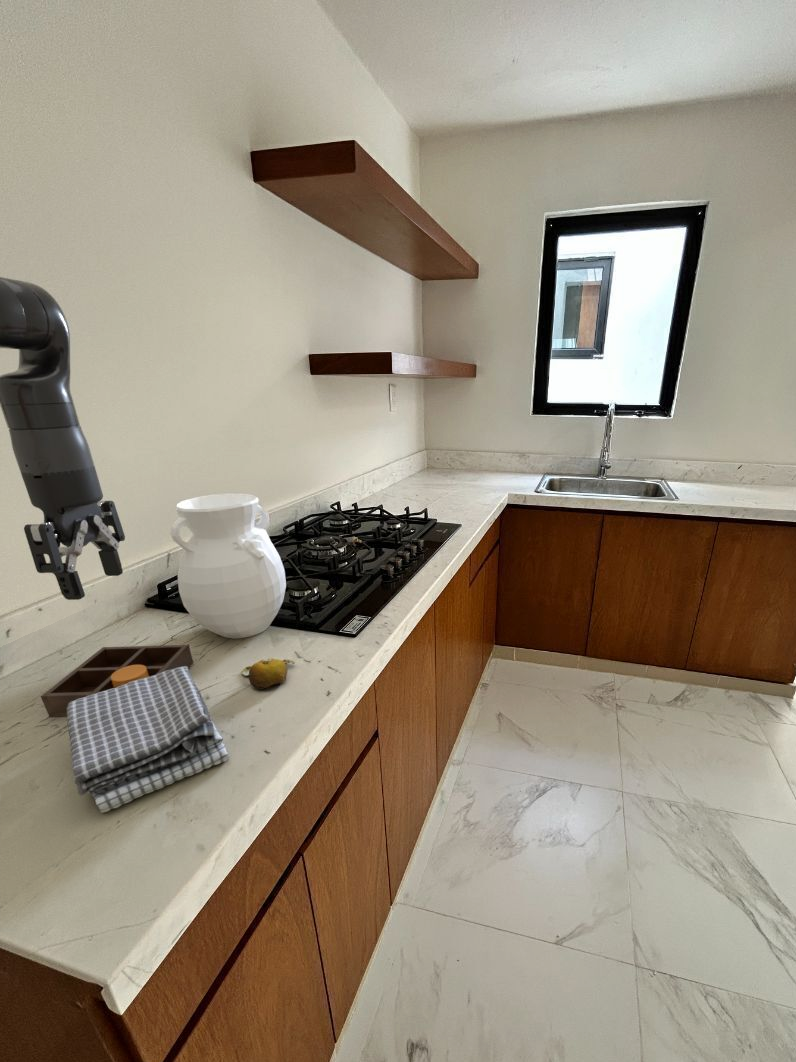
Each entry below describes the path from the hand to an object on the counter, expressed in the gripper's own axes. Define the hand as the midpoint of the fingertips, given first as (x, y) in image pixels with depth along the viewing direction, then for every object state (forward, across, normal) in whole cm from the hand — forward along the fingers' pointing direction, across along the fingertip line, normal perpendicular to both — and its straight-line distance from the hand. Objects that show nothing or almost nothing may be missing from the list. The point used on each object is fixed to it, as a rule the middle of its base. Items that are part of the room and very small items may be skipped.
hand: (96, 586), depth 68 cm
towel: (+19, +12, +10) cm, 24 cm away
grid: (+18, -3, -2) cm, 19 cm away
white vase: (+19, -24, +8) cm, 31 cm away
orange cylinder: (+18, 0, +1) cm, 18 cm away
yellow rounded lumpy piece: (+18, -6, +20) cm, 28 cm away
